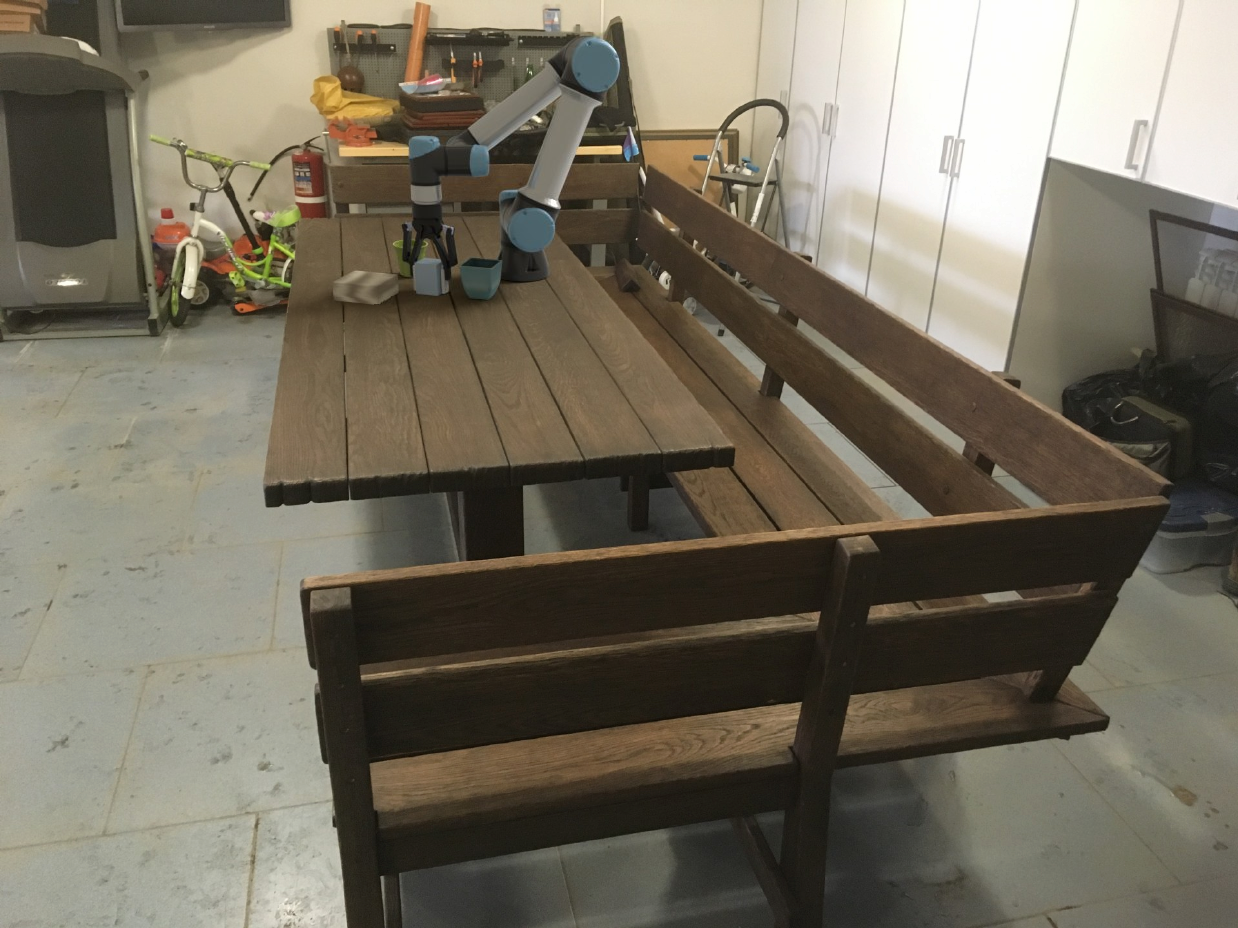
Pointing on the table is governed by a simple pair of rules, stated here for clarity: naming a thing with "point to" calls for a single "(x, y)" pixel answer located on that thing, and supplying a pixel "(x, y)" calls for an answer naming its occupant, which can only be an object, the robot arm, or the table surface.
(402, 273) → the plant pot
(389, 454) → the table surface
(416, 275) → the slate blue block
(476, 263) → the flower pot
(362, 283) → the birch block
